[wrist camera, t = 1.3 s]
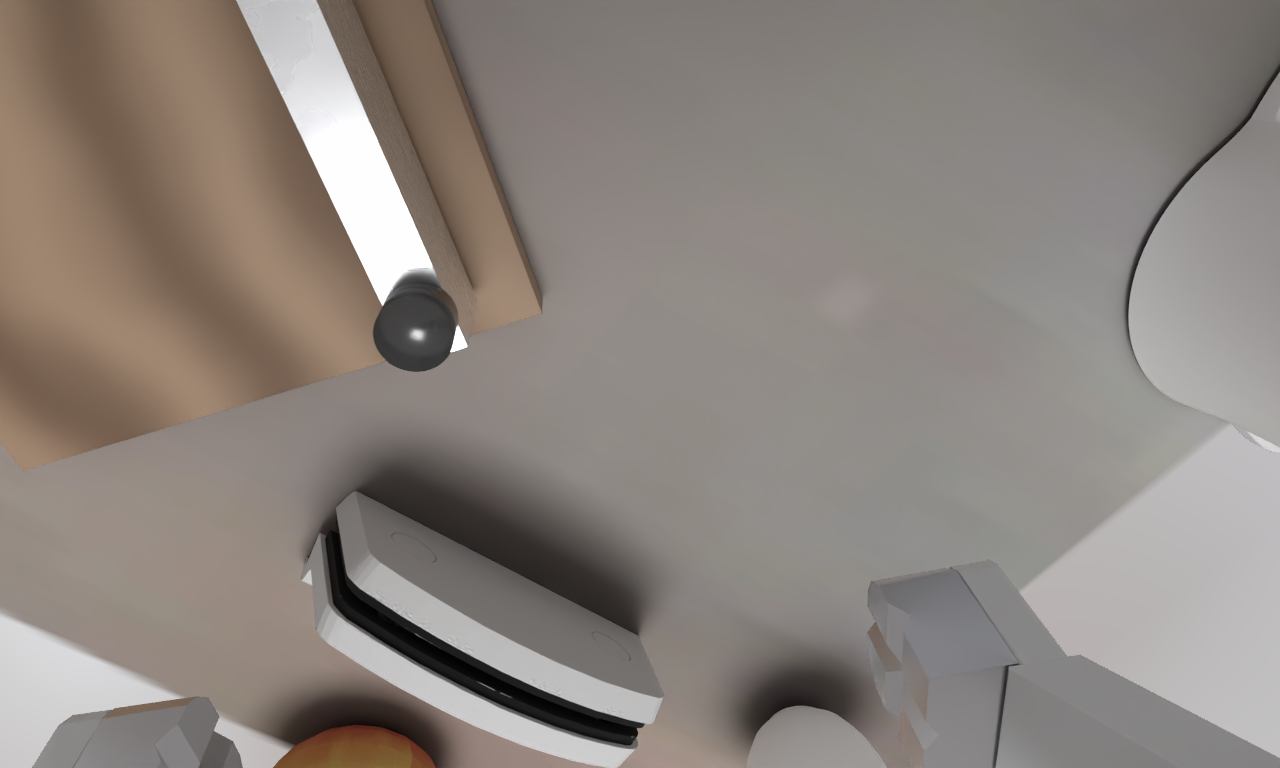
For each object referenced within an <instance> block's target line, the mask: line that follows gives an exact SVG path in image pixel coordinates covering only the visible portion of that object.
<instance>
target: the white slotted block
mask: <svg viewBox="0 0 1280 768" xmlns="http://www.w3.org/2000/svg"><path fill="white" fill-rule="evenodd" d="M336 513H337V521H336V523H337V529H338V533H336V532H334V531H332V530H330V532H329V533H328V535H327V536H326V535H324V534H322V533H319V535H318V538H317V540H316V543H315V545H314V548H313V550H312V552H311V555H310V557H307V559H306V561H305V563H304V567H303V571H302V575H301V581H304V582H306V583H308V584H310V585H312V588H313V599H314V611H315V623H316V629H317V631H318V633H319V635H320V636H321V637H322V638H323V639H324V640H325V641H326V642H327V643H328V644H329V645H331V646H332V647H334V648H336V649H337V650H339V651H340V652H342V653H343V654H345V655H346V656H348V657H349V658H351V659H353V660H354V661H356V662H357V663H359V664H360V665H362V666H363V667H365V668H367V669H368V670H370V671H372V672H373V673H375V674H377V675H378V676H380V677H382V678H383V679H385V680H387V681H388V682H390V683H392V684H393V685H395V686H397V687H399V688H400V689H402V690H404V691H406V692H408V693H410V694H412V695H414V696H415V697H417V698H419V699H421V700H423V701H425V702H427V703H429V704H431V705H433V706H434V707H436V708H438V709H440V710H442V711H444V712H446V713H448V714H450V715H452V716H454V717H456V718H459V719H461V720H463V721H465V722H467V723H469V724H471V725H473V726H476V727H478V728H481V729H483V730H486V731H488V732H490V733H493V734H495V735H498V736H500V737H503V738H505V739H508V740H510V741H513V742H515V743H518V744H520V745H523V746H526V747H529V748H532V749H535V750H538V751H542V752H545V753H548V754H551V755H555V756H558V757H561V758H565V759H568V760H572V761H577V762H581V763H586V764H590V765H596V766H602V767H608V768H617V767H618V766H620V765H621V764H622V763H623V761H624V760H625V759H626V758H627V757H628V756H629V755H630V754H631V753H632V752H633V751H634V750H635V749H636V748H637V746H638V742H637V739H636V737H637V735H638V731H637V728H642V727H643V726H644V725H645V724H652V723H653V722H654V720H655V718H656V715H657V712H658V710H659V707H660V704H661V702H662V699H663V696H664V694H663V691H662V689H661V687H660V684H659V682H658V680H657V677H656V675H655V673H654V670H653V668H652V666H651V664H650V661H649V659H648V657H647V654H646V652H645V650H644V647H643V645H642V643H641V640H640V638H639V636H638V635H636V634H634V633H632V632H630V631H628V630H626V629H624V628H622V627H620V626H618V625H616V624H614V623H613V622H611V621H609V620H607V619H605V618H603V617H601V616H599V615H597V614H595V613H593V612H591V611H589V610H587V609H585V608H583V607H581V606H579V605H577V604H576V603H574V602H572V601H570V600H568V599H566V598H564V597H562V596H560V595H558V594H556V593H554V592H552V591H550V590H548V589H546V588H544V587H542V586H540V585H539V584H537V583H535V582H533V581H531V580H529V579H527V578H525V577H523V576H521V575H519V574H517V573H515V572H513V571H511V570H509V569H507V568H505V567H503V566H502V565H500V564H498V563H496V562H494V561H492V560H490V559H488V558H486V557H484V556H482V555H480V554H478V553H476V552H474V551H472V550H470V549H468V548H466V547H465V546H463V545H461V544H459V543H457V542H455V541H453V540H451V539H449V538H447V537H445V536H443V535H441V534H439V533H437V532H435V531H433V530H431V529H429V528H428V527H426V526H424V525H422V524H420V523H418V522H416V521H414V520H412V519H410V518H408V517H406V516H404V515H402V514H400V513H398V512H396V511H394V510H392V509H391V508H389V507H387V506H385V505H383V504H381V503H379V502H377V501H375V500H373V499H371V498H369V497H367V496H365V495H363V494H361V493H359V492H357V491H354V492H352V493H351V494H350V495H349V496H347V497H346V498H345V499H344V500H343V501H342V502H341V503H340V504H339V505H338V506H337V507H336Z"/></svg>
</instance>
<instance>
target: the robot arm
mask: <svg viewBox="0 0 1280 768" xmlns="http://www.w3.org/2000/svg"><path fill="white" fill-rule="evenodd" d="M1128 318H1129V333H1130V339H1131V344H1132V348H1133V351H1134V354H1135V357H1136V359H1137V361H1138V363H1139V365H1140V367H1141V369H1142V371H1143V372H1144V374H1145V375H1146V376H1147V378H1148V379H1149V380H1150V381H1151V382H1152V384H1153V385H1154V386H1155V387H1157V388H1158V389H1159V390H1160V391H1161V392H1162V393H1164V394H1165V395H1167V396H1168V397H1170V398H1171V399H1173V400H1175V401H1177V402H1179V403H1181V404H1183V405H1186V406H1189V407H1192V408H1194V409H1197V410H1200V411H1203V412H1205V413H1208V414H1211V415H1213V416H1216V417H1218V418H1221V419H1223V420H1225V421H1227V422H1229V423H1231V424H1232V425H1233V426H1234V427H1235V428H1236V429H1237V430H1238V431H1239V432H1240V433H1241V434H1242V435H1243V436H1244V437H1245V438H1246V439H1248V440H1249V441H1251V442H1252V443H1255V444H1256V445H1258V446H1260V447H1262V448H1264V449H1265V450H1268V451H1270V452H1275V453H1278V452H1280V72H1279V74H1278V75H1277V77H1276V78H1275V80H1274V81H1273V83H1272V84H1271V86H1270V87H1269V89H1268V91H1267V92H1266V94H1265V96H1264V97H1263V99H1262V100H1261V102H1260V104H1259V106H1258V107H1257V109H1256V111H1255V112H1254V114H1253V116H1252V117H1251V119H1250V120H1249V121H1248V122H1247V124H1246V125H1245V126H1244V127H1243V128H1242V129H1241V130H1240V131H1239V132H1238V133H1237V134H1236V135H1235V136H1234V137H1233V138H1232V139H1231V140H1230V141H1229V142H1228V143H1227V144H1226V145H1225V146H1224V147H1223V148H1221V149H1220V150H1219V151H1218V152H1217V153H1216V154H1215V155H1214V156H1213V157H1212V158H1211V159H1210V160H1208V161H1207V162H1206V163H1205V164H1204V165H1203V166H1202V167H1201V168H1200V169H1199V170H1198V171H1197V172H1196V173H1195V174H1194V175H1193V177H1192V178H1191V179H1190V180H1189V181H1188V182H1187V183H1186V184H1185V186H1184V187H1183V188H1182V189H1181V191H1180V192H1179V193H1178V194H1177V195H1176V197H1175V198H1174V199H1173V201H1172V202H1171V204H1170V205H1169V206H1168V208H1167V209H1166V211H1165V212H1164V214H1163V215H1162V217H1161V218H1160V220H1159V222H1158V223H1157V225H1156V227H1155V228H1154V230H1153V232H1152V234H1151V236H1150V238H1149V240H1148V242H1147V244H1146V246H1145V248H1144V251H1143V253H1142V255H1141V258H1140V260H1139V263H1138V266H1137V269H1136V272H1135V276H1134V280H1133V284H1132V289H1131V294H1130V301H1129V315H1128ZM868 607H869V609H870V611H871V613H872V616H873V618H874V620H875V623H874V624H873V626H872V627H871V628H870V629H869V631H868V632H867V642H868V656H869V662H870V667H871V673H872V676H873V679H874V682H875V685H876V688H877V691H878V694H879V696H880V698H881V700H882V703H883V705H884V707H885V709H886V710H888V711H889V712H891V713H892V714H894V715H895V716H897V717H898V718H900V732H899V740H900V743H901V745H902V747H903V749H904V751H905V753H906V756H907V758H908V760H909V762H910V764H911V766H912V768H1280V758H1278V757H1276V756H1274V755H1272V754H1270V753H1269V752H1267V751H1265V750H1263V749H1261V748H1259V747H1257V746H1255V745H1253V744H1251V743H1249V742H1247V741H1246V740H1244V739H1242V738H1240V737H1238V736H1236V735H1234V734H1232V733H1230V732H1228V731H1226V730H1224V729H1222V728H1220V727H1218V726H1217V725H1214V724H1213V723H1211V722H1209V721H1207V720H1205V719H1203V718H1201V717H1199V716H1197V715H1195V714H1193V713H1191V712H1189V711H1188V710H1185V709H1184V708H1182V707H1180V706H1178V705H1176V704H1174V703H1172V702H1170V701H1168V700H1166V699H1164V698H1162V697H1161V696H1159V695H1157V694H1155V693H1153V692H1151V691H1149V690H1147V689H1145V688H1143V687H1141V686H1139V685H1137V684H1135V683H1134V682H1132V681H1130V680H1128V679H1126V678H1124V677H1122V676H1120V675H1118V674H1116V673H1114V672H1112V671H1110V670H1108V669H1106V668H1105V667H1103V666H1101V665H1099V664H1097V663H1095V662H1093V661H1091V660H1089V659H1087V658H1085V657H1083V656H1081V655H1076V656H1069V657H1068V656H1067V655H1066V654H1065V652H1064V651H1063V650H1062V649H1061V647H1060V646H1059V645H1058V643H1057V642H1056V641H1055V639H1054V638H1053V637H1052V635H1051V634H1050V633H1049V631H1048V630H1047V629H1046V627H1045V626H1044V625H1043V624H1042V622H1041V621H1040V620H1039V618H1038V617H1037V616H1036V614H1035V613H1034V612H1033V610H1032V609H1031V608H1030V606H1029V605H1028V604H1027V602H1026V601H1025V600H1024V598H1023V597H1022V596H1021V595H1020V593H1019V592H1018V591H1017V589H1016V588H1015V587H1014V585H1013V584H1012V583H1011V581H1010V580H1009V579H1008V577H1007V576H1006V575H1005V573H1004V572H1003V571H1002V569H1001V568H1000V567H999V565H998V564H996V563H994V562H993V561H991V560H986V561H981V562H975V563H970V564H964V565H959V566H953V567H950V568H949V569H948V568H943V569H938V570H932V571H927V572H921V573H915V574H910V575H904V576H899V577H893V578H888V579H882V580H876V581H871V583H870V586H869V589H868ZM218 718H219V715H218V713H217V712H216V710H215V708H214V707H213V705H212V703H211V702H210V700H209V698H206V697H190V698H183V699H176V700H169V701H162V702H156V703H149V704H142V705H135V706H128V707H121V708H115V709H114V710H107V711H99V712H92V713H85V714H78V715H72V716H71V717H70V718H68V719H67V720H65V721H64V722H63V723H61V724H60V725H59V726H58V727H57V729H56V730H55V732H54V734H53V735H52V737H51V738H50V740H49V741H48V743H47V745H46V746H45V748H44V749H43V751H42V753H41V754H40V756H39V758H38V759H37V761H36V762H35V764H34V765H33V767H32V768H243V767H242V763H241V758H240V754H239V752H238V750H237V749H236V747H235V745H234V743H233V741H231V740H229V739H227V738H226V737H224V736H222V735H220V734H218V733H216V732H214V728H215V726H216V723H217V721H218Z"/></svg>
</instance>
